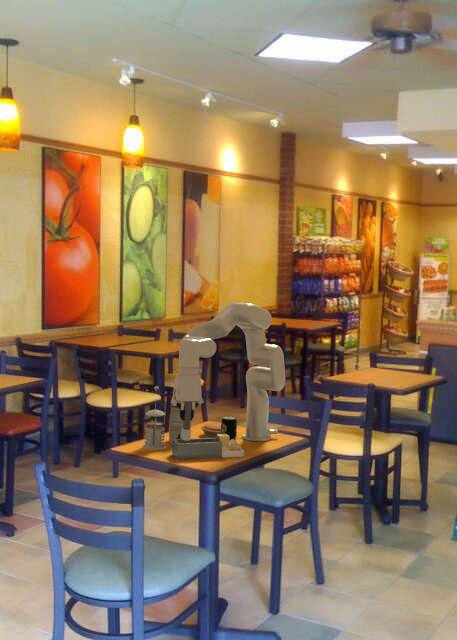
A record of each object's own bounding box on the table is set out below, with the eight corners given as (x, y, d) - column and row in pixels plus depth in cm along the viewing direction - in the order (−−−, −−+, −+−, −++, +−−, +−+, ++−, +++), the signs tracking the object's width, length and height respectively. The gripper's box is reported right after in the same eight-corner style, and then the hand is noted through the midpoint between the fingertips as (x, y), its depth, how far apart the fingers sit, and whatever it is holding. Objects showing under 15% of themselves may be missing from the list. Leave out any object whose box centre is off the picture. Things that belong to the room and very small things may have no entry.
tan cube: (225, 443, 308) (226, 434, 307) (229, 446, 304) (229, 436, 304) (216, 444, 306) (216, 434, 306) (219, 446, 303) (219, 436, 302)
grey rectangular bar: (187, 437, 294) (189, 396, 293) (190, 440, 290) (192, 398, 289) (181, 437, 293) (183, 396, 292) (184, 440, 290) (186, 398, 288)
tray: (234, 450, 314) (234, 444, 314) (244, 457, 304) (244, 450, 304) (213, 451, 311) (213, 445, 311) (222, 458, 301) (222, 451, 301)
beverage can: (234, 448, 318) (235, 419, 317) (218, 446, 319) (220, 418, 318) (237, 444, 324) (238, 416, 323) (222, 443, 326) (223, 415, 325)
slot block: (215, 452, 309) (215, 437, 309) (221, 457, 302) (222, 442, 301) (171, 454, 303) (172, 439, 303) (177, 459, 296) (177, 444, 295)
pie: (201, 431, 348) (202, 420, 348) (235, 433, 348) (236, 422, 348) (199, 439, 333) (200, 427, 332) (235, 440, 332) (236, 429, 332)
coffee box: (170, 439, 330) (172, 401, 329) (185, 439, 330) (186, 402, 329) (168, 443, 321) (169, 405, 320) (183, 444, 321) (185, 406, 320)
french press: (167, 444, 320) (169, 384, 318) (165, 451, 308) (167, 389, 307) (143, 443, 320) (145, 383, 318) (140, 450, 308) (142, 388, 307)
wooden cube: (224, 444, 308) (229, 452, 309) (227, 446, 304) (232, 454, 305) (232, 438, 309) (237, 446, 310) (236, 440, 305) (240, 448, 306)
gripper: (205, 370, 296) (203, 417, 298) (165, 370, 291) (163, 418, 292) (211, 372, 289) (209, 421, 291) (170, 373, 284) (168, 422, 285)
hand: (186, 419), depth 291 cm, fingers closed on grey rectangular bar, 2 cm apart
